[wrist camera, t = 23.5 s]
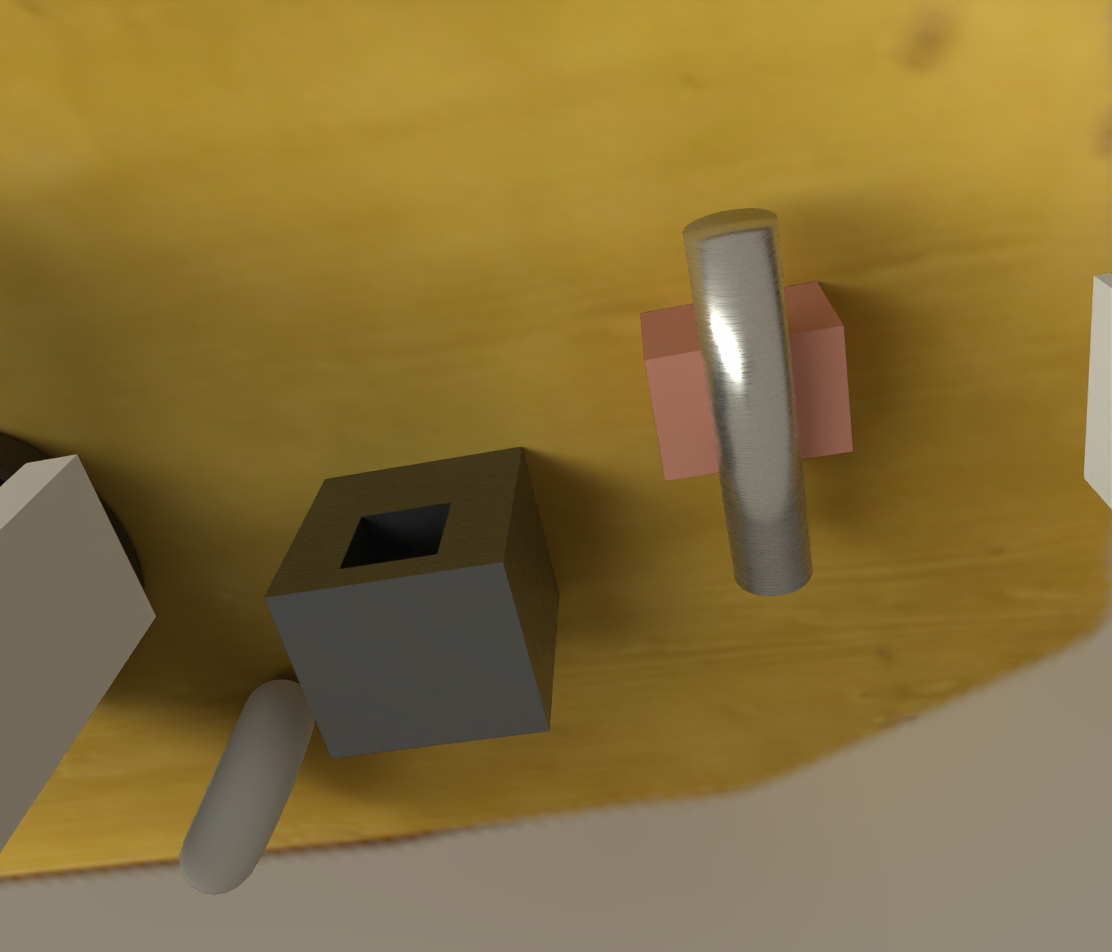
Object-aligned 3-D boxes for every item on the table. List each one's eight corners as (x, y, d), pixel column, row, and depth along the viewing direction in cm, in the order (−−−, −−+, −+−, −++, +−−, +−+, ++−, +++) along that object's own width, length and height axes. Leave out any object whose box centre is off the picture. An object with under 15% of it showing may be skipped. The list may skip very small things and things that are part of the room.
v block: (659, 424, 42) (665, 480, 38) (640, 313, 40) (644, 360, 35) (826, 396, 41) (852, 451, 37) (816, 281, 39) (843, 325, 34)
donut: (280, 783, 53) (216, 950, 45) (219, 760, 53) (142, 924, 44) (346, 654, 49) (289, 811, 40) (280, 627, 48) (208, 780, 39)
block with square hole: (376, 622, 48) (331, 758, 40) (324, 479, 44) (263, 597, 36) (559, 596, 47) (549, 730, 39) (522, 446, 43) (502, 562, 35)
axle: (725, 559, 40) (746, 603, 37) (673, 223, 33) (695, 249, 30) (797, 541, 40) (824, 584, 37) (760, 201, 33) (790, 226, 30)
